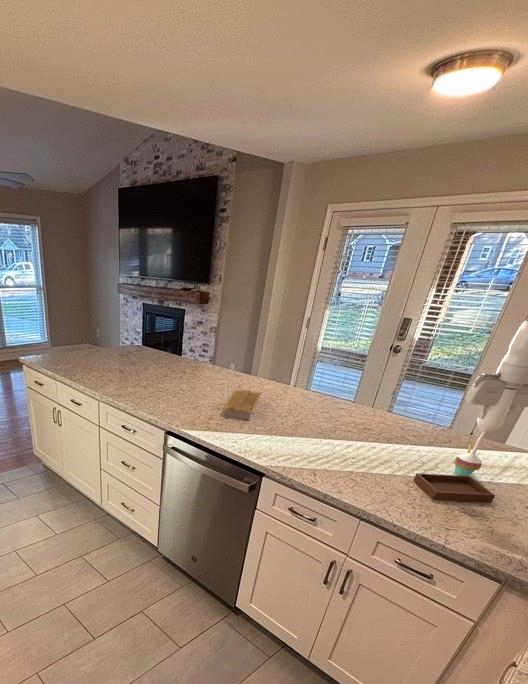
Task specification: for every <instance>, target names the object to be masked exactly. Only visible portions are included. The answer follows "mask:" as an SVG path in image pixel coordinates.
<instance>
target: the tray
mask: <svg viewBox="0 0 528 684" xmlns="http://www.w3.org/2000/svg"><path fill="white" fill-rule="evenodd" d="M412 481H413V482H414V483H415V484H416V485H417V486H418V487H419V488H420V489H421V490H423V492H424V493H426V495H428V496H429V497H430V498H431V500H433V501H449V502H468V503H483V504H484V503H486V504H491V503H492V502H493V500H494V499H495V497H496V494H494V493H493V492H492V491H491V490H490V489H488V488H487V487H485V486H484V485H483V484H481V483H480V482H479V481H477V480H476V479H475V478H474V477H473V476H471V475H469V476H462V475H458V474H457V475H456V474H455V475H454V474H451V475H450V474H439V473H438V474H436V473H418V472H417V473H415V476H414V478H413V480H412Z"/></svg>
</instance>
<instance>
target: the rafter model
mask: <svg viewBox="0 0 528 684" xmlns="http://www.w3.org/2000/svg"><path fill="white" fill-rule="evenodd" d="M261 395H262V392H258V391H253V390H248V389H234V390H233V391H232V393H231V394H230V396H229V398H228V400H227V401H226V403H225V404H224V405H223V408H222V411H223V417H228V418H234V419H240V420H247V421H250V420H251V418H252V415H253V413H254V412H255V410H256V407H257V404H258V402H259V399H260V397H261Z"/></svg>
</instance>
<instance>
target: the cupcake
mask: <svg viewBox="0 0 528 684" xmlns="http://www.w3.org/2000/svg"><path fill="white" fill-rule="evenodd" d="M471 451H472V444H470V445H469V446H468V450H467V453H466V454H469V453H471ZM453 464H455V467H454V473H455V474H457V475H458V476H471V475H472V474H473V473H474V472H475V471H479V470H481V467H482V463H470V462H467V461H464V460H462V459H460V458H459V455H458V456H456V457H455V459H454V460H453Z"/></svg>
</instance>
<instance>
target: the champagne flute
mask: <svg viewBox="0 0 528 684" xmlns="http://www.w3.org/2000/svg"><path fill="white" fill-rule="evenodd" d="M516 391H517V389H516V390H511V389H505V390H504V391H503V393H504V394H503V395H502V397H501V398H500V400H499V402H498V403H497V404H496V405H489V407H488V408H486V415H485V417H484V418H483V419H480V418H478V417H477V419H476V424H477V426H478V428H479V430H480V431H481V432H480V434H479V437H478V438H477V440H476V442H475V445H474V446H473V448H472V449H471V451H470V453H469V454H467V453H462V454H459V455H458V456H459V458H460V459H462V460H464V461H467V462H470V463H481V464H482V463H483V460H482V459H481V458H479V457H478V456H477V455H476V453H477V451H478V449H479V448H480V446H481V444H482V442H483V440H484V438H485V436H486V434H487V433H490V432H494V431H495V430H496V431H497V429H500V428H501V427H502V426H503V425H504V422H505V421H506V419H507V418H506V415H507V413H508V410H509V408H510V406H511V403H512V401H513V398H514V396H515V394H516ZM505 418H506V419H505Z"/></svg>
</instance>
